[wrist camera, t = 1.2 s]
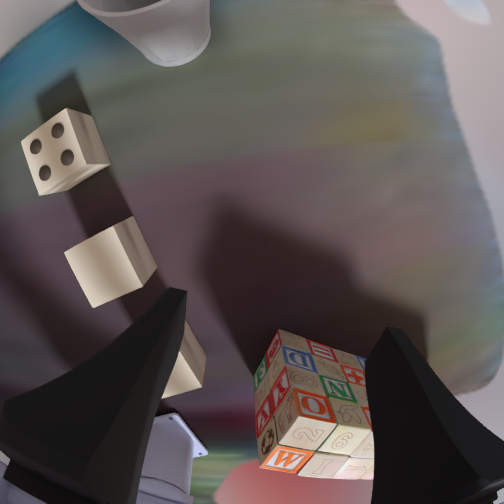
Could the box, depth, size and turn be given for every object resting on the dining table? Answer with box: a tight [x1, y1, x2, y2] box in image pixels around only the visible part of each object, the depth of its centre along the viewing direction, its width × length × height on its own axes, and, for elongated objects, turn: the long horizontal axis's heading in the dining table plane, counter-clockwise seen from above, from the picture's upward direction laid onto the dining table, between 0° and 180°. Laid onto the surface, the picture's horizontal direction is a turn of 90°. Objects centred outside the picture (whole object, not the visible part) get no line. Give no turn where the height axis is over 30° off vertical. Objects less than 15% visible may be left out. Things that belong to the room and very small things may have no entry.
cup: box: [77, 0, 211, 67], centre depth 16 cm, size 8×8×12 cm
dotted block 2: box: [161, 320, 206, 399], centre depth 27 cm, size 5×5×5 cm
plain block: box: [64, 216, 157, 308], centre depth 25 cm, size 5×5×5 cm
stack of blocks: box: [253, 329, 374, 479], centre depth 26 cm, size 21×6×12 cm, turn 67°
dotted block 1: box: [21, 108, 111, 196], centre depth 22 cm, size 5×5×5 cm
